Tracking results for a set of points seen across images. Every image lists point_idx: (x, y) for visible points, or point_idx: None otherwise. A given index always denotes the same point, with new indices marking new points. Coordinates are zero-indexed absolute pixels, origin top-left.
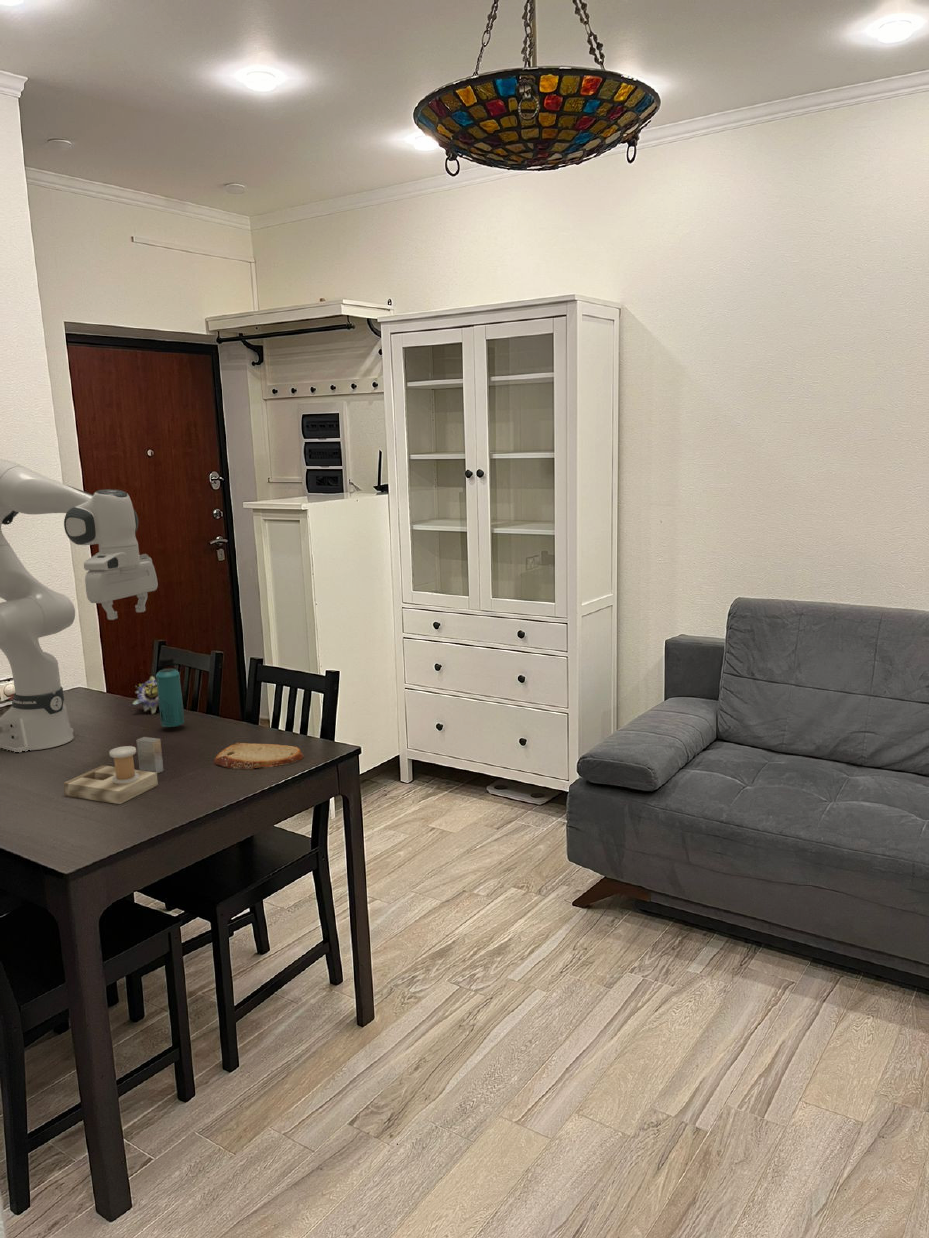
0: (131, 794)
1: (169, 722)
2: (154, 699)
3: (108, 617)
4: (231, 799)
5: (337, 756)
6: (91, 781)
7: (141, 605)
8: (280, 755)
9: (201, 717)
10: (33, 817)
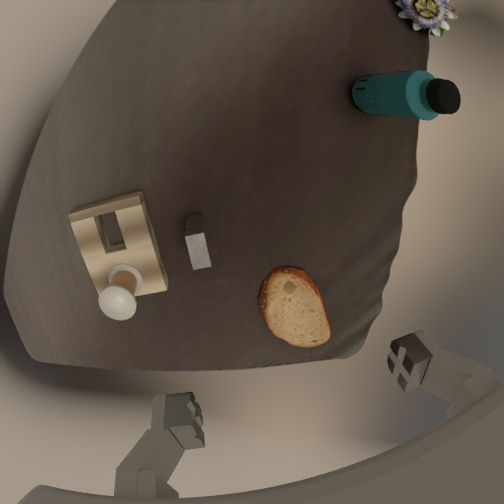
0: None
1: (357, 103)
2: (416, 14)
3: (156, 406)
4: (191, 367)
5: (334, 358)
6: (93, 244)
7: (407, 390)
8: (304, 338)
9: None
10: (29, 242)
